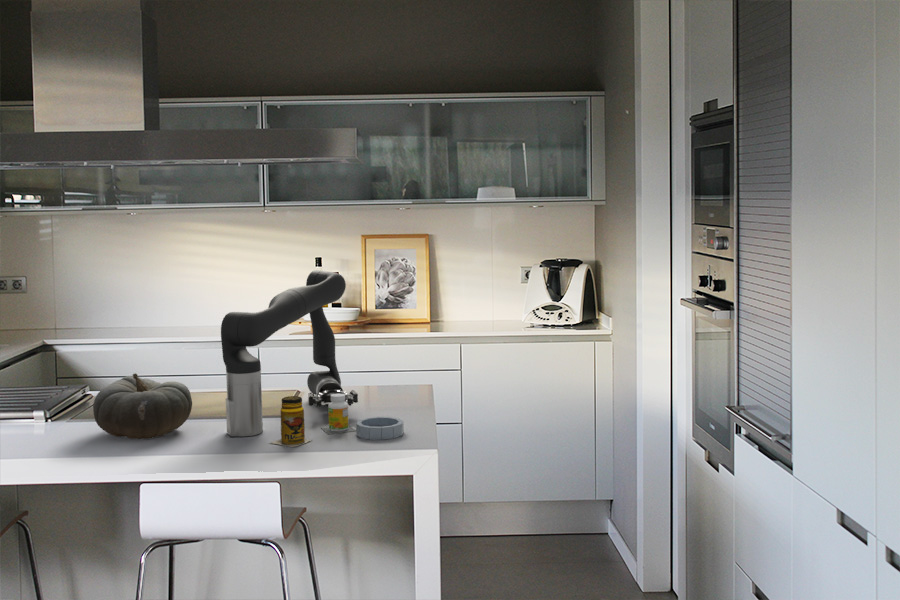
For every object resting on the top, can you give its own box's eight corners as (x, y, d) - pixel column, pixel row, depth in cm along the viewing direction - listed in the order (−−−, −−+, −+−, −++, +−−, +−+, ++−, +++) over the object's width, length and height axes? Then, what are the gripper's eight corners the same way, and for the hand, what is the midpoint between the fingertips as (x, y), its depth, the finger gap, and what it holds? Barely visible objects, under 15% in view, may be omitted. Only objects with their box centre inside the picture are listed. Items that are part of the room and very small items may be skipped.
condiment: (294, 447, 220) (293, 401, 219) (269, 443, 224) (267, 398, 223) (312, 440, 227) (311, 396, 225) (287, 437, 231) (285, 393, 229)
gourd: (115, 412, 250) (120, 356, 246) (200, 426, 250) (206, 369, 246) (77, 444, 225) (81, 381, 222) (171, 459, 225) (177, 396, 222)
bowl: (365, 441, 225) (365, 429, 225) (351, 430, 236) (351, 419, 236) (409, 436, 230) (409, 424, 230) (393, 426, 241) (393, 414, 241)
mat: (328, 435, 233) (328, 433, 233) (321, 429, 239) (321, 428, 239) (356, 432, 236) (356, 430, 236) (348, 426, 243) (348, 425, 243)
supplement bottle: (324, 430, 237) (323, 395, 236) (336, 426, 241) (335, 392, 240) (341, 432, 234) (340, 397, 233) (352, 428, 239) (351, 393, 238)
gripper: (305, 380, 258) (309, 391, 242) (352, 378, 261) (360, 388, 245) (306, 405, 259) (310, 417, 243) (353, 402, 262) (360, 414, 246)
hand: (335, 403), depth 244 cm, fingers open, 8 cm apart
